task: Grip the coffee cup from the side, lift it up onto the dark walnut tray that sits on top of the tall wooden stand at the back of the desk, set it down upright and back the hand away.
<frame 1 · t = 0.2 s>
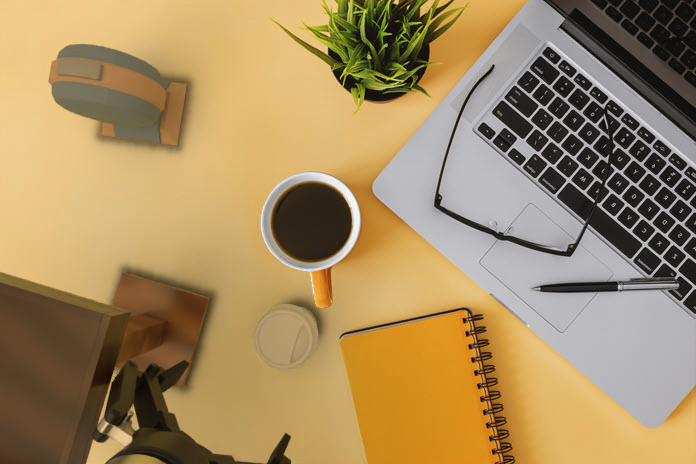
hand: (230, 407, 53), 21 cm above the table, tool pointing down, fingers open, 13 cm apart
serving tray: (15, 376, 45), resting on tray stand
coffee cup: (298, 325, 73), on the table
tray stand: (154, 328, 74), on the table
alarm clock: (145, 110, 76), on the table
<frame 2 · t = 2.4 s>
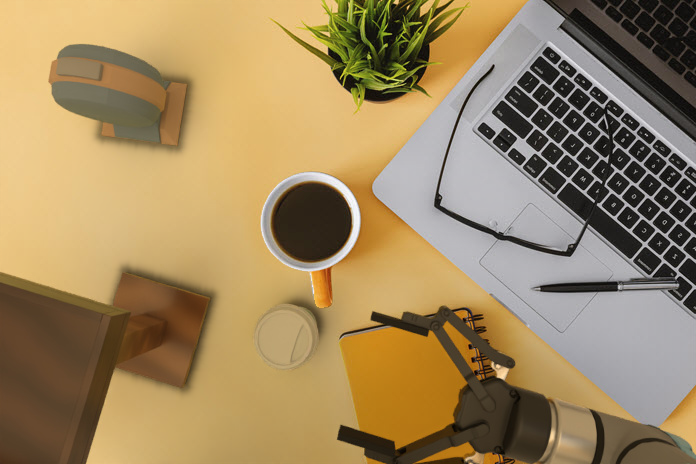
hand: (354, 373, 55), 18 cm above the table, tool horizontal, fingers open, 13 cm apart
nothing on the table moved.
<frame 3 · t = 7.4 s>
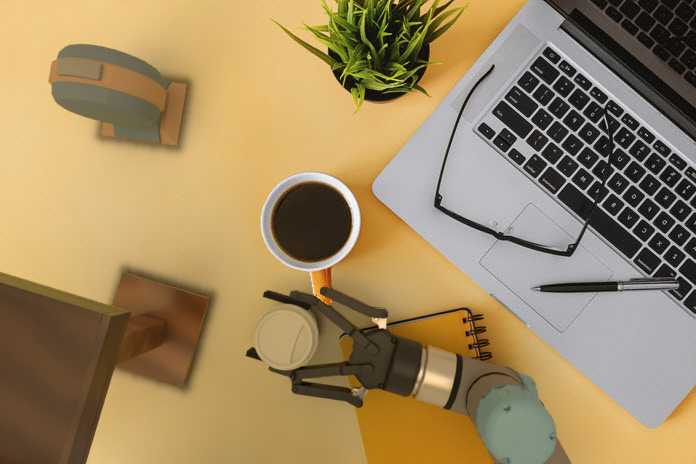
hand: (257, 322, 67), 7 cm above the table, tool horizontal, fingers closed on coffee cup, 8 cm apart
coffee cup: (298, 325, 73), on the table, touching gripper
everything else where it was.
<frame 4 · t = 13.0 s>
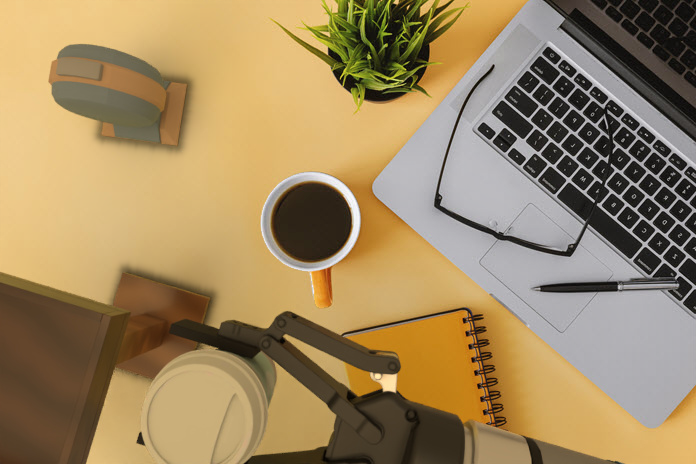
hand: (162, 378, 37), 37 cm above the table, tool horizontal, fingers closed on coffee cup, 8 cm apart
coffee cup: (245, 374, 43), point 30 cm above the table, touching gripper
everything else where it was.
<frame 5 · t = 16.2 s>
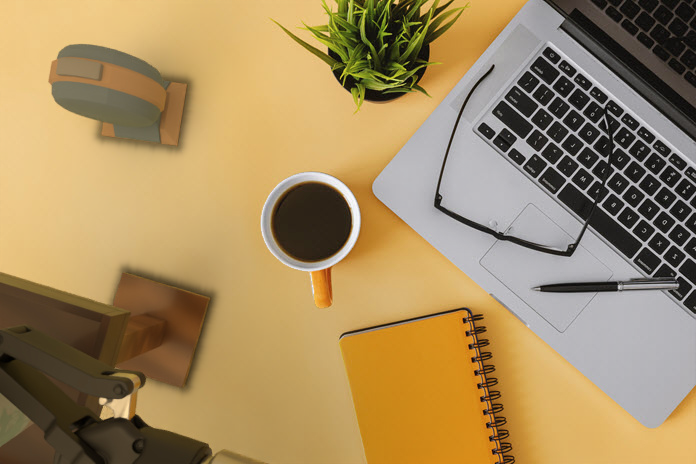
coffee cup: (15, 393, 39), point 35 cm above the table, touching gripper
everything else where it was.
when the fingers open (37 cm above the table, at t = 18.8 s): coffee cup stays where it is, resting on serving tray.
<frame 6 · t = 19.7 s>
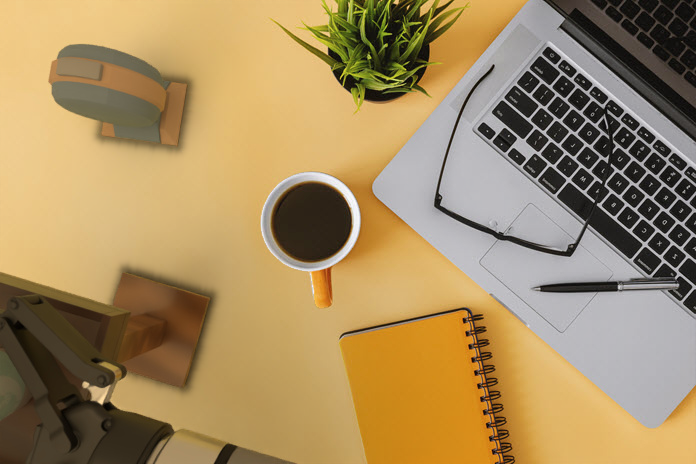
coffee cup: (9, 378, 45), point 30 cm above the table, touching serving tray
everything else where it was.
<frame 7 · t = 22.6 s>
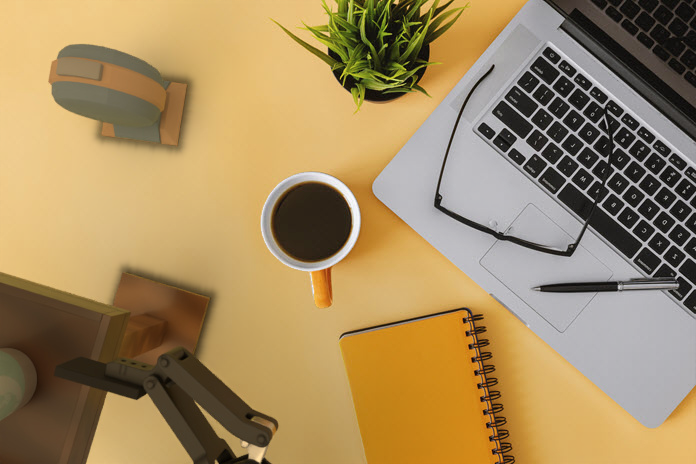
hand: (46, 452, 36), 37 cm above the table, tool horizontal, fingers open, 13 cm apart
nothing on the table moved.
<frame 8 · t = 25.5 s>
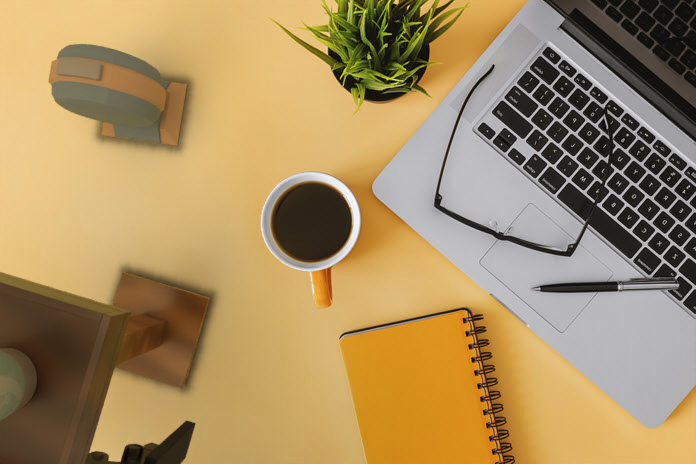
nothing on the table moved.
at the end: coffee cup inside the target area on the serving tray (0.0 cm from its centre), point 0.8 cm above the serving tray's base; coffee cup tilted 0°; the gripper is holding nothing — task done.
